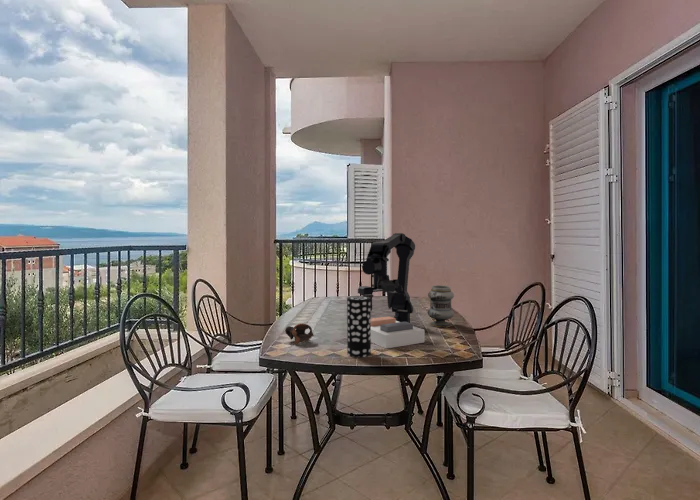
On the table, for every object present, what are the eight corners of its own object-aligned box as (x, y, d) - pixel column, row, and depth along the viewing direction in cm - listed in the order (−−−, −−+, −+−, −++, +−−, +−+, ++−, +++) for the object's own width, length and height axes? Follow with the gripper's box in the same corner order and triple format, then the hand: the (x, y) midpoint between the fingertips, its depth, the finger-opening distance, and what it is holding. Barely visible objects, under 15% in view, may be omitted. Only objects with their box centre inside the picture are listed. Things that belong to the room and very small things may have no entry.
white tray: (390, 330, 188) (390, 318, 188) (424, 342, 167) (424, 329, 167) (354, 334, 180) (354, 323, 180) (385, 348, 159) (385, 335, 159)
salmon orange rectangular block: (389, 325, 184) (389, 316, 184) (395, 327, 179) (395, 318, 179) (365, 328, 178) (364, 319, 178) (371, 331, 174) (371, 321, 174)
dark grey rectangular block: (405, 331, 173) (405, 321, 173) (412, 333, 169) (412, 323, 169) (380, 334, 168) (380, 324, 167) (387, 337, 163) (387, 327, 163)
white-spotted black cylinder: (354, 358, 147) (353, 300, 146) (343, 352, 154) (343, 297, 153) (375, 355, 150) (374, 298, 150) (363, 349, 158) (363, 295, 157)
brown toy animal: (315, 340, 174) (317, 325, 170) (307, 356, 166) (308, 340, 162) (288, 331, 176) (289, 316, 172) (278, 346, 168) (279, 331, 164)
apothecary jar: (433, 328, 191) (433, 288, 190) (423, 322, 203) (423, 285, 202) (458, 327, 193) (458, 287, 193) (447, 321, 205) (447, 284, 204)
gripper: (370, 275, 166) (371, 315, 167) (410, 273, 175) (410, 310, 176) (357, 273, 176) (357, 310, 177) (394, 270, 185) (394, 306, 186)
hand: (380, 309), depth 179 cm, fingers open, 9 cm apart
